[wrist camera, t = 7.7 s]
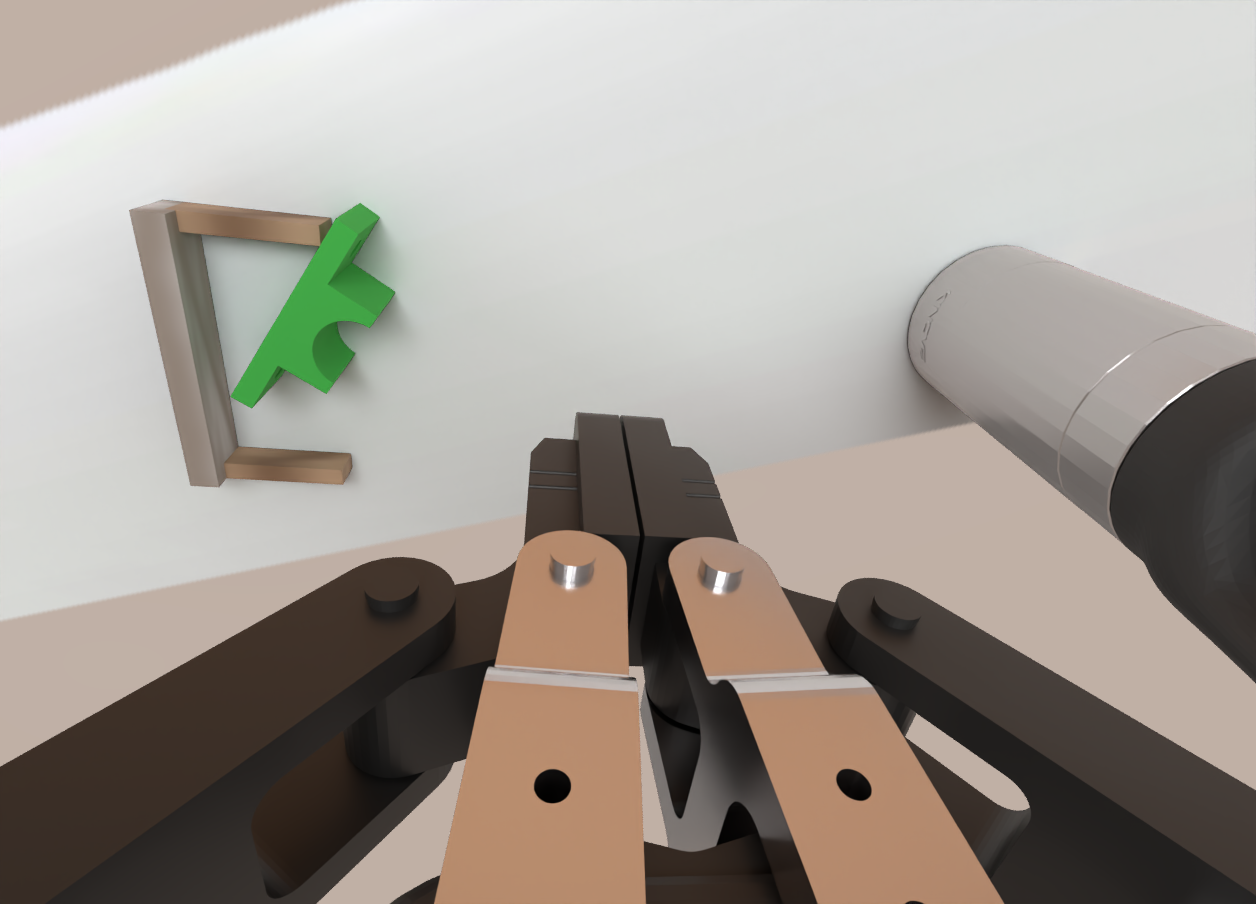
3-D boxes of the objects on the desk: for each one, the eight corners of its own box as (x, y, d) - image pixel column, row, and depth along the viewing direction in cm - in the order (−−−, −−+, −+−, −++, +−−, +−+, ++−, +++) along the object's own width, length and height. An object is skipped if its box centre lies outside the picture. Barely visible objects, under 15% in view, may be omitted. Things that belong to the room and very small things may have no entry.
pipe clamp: (325, 398, 40) (299, 435, 36) (264, 363, 38) (229, 397, 34) (425, 247, 36) (408, 269, 32) (361, 201, 34) (334, 218, 30)
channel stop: (330, 218, 34) (312, 229, 32) (352, 467, 42) (338, 493, 39) (162, 199, 33) (129, 210, 31) (214, 459, 40) (190, 485, 38)
